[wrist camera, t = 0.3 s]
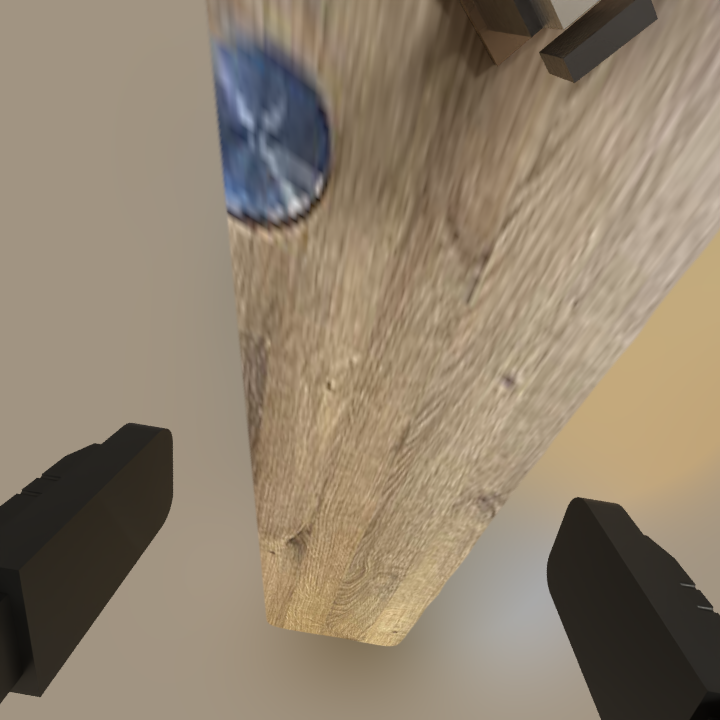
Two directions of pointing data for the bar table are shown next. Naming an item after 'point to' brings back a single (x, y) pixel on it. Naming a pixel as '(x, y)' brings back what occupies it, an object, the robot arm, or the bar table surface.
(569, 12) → the steel rail
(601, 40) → the cradle stand
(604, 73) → the bar table surface
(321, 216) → the bar table surface
